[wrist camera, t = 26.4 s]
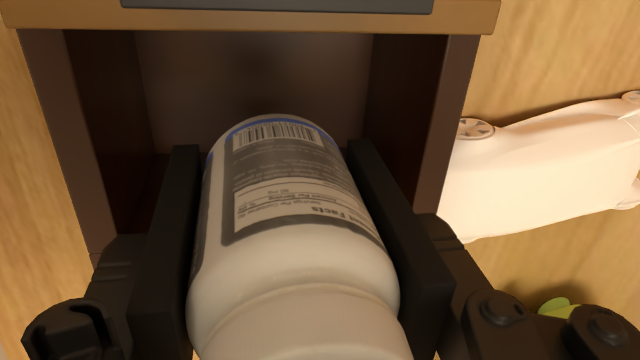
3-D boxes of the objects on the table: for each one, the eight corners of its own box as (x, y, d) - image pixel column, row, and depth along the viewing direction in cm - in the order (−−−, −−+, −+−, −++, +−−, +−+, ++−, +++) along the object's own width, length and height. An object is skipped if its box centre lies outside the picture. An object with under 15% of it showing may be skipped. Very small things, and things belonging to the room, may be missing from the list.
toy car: (665, 83, 27) (734, 110, 23) (627, 182, 31) (680, 218, 28) (401, 126, 25) (430, 162, 22) (399, 224, 30) (423, 269, 26)
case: (140, 164, 24) (95, 277, 16) (46, -286, 14) (-164, -515, 7) (373, 155, 26) (428, 250, 19) (425, -236, 17) (581, -363, 9)
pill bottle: (284, 247, 16) (321, 508, 9) (174, 187, 14) (108, 469, 7) (370, 162, 14) (497, 390, 7) (264, 78, 12) (300, 291, 5)
